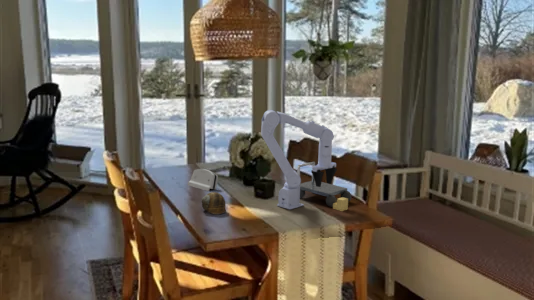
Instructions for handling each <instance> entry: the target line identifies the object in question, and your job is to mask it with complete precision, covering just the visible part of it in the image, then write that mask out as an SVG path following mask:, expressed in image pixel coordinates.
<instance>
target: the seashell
mask: <svg viewBox="0 0 534 300" xmlns="http://www.w3.org/2000/svg"><path fill="white" fill-rule="evenodd" d="M201 208H202V209H203V210H204V211H206V212H207V213H208V214H212V215H221V214H224V213H226V212H227V209H226V199H225V197H224V195H222V194H221V193H219V192H216V191H212V192H208V193H207V194H206V195H204V196H203V197H202V198H201Z"/></svg>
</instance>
